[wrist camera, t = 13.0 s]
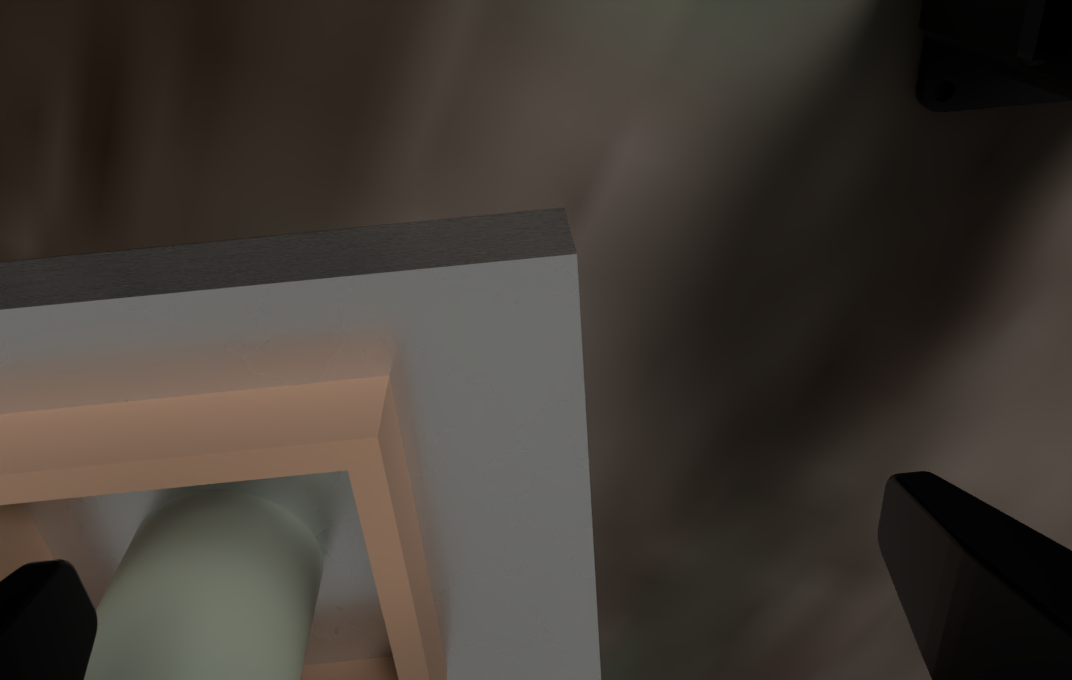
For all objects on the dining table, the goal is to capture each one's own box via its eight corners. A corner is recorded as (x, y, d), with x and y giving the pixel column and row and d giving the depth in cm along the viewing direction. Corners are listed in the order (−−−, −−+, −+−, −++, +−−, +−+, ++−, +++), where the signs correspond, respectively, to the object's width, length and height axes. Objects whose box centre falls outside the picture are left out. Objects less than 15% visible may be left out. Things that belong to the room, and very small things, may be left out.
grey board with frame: (564, 208, 21) (590, 303, 16) (591, 634, 29) (614, 783, 24) (-218, 283, 20) (-432, 403, 16) (26, 693, 28) (-66, 857, 23)
